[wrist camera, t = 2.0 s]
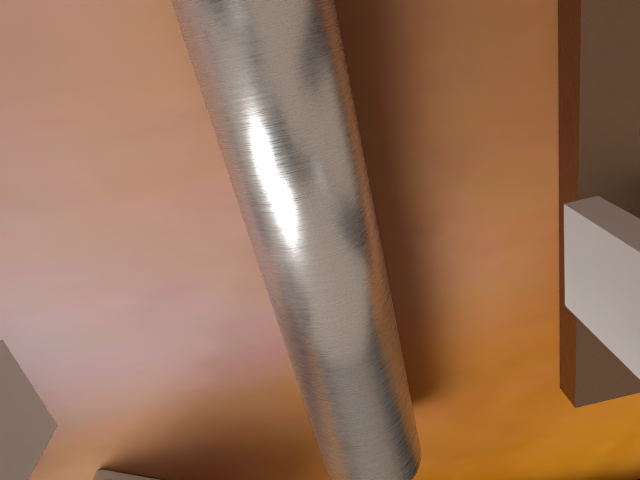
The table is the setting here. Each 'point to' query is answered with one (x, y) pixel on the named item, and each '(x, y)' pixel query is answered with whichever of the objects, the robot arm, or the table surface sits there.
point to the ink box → (118, 476)
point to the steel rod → (309, 219)
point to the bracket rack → (596, 162)
